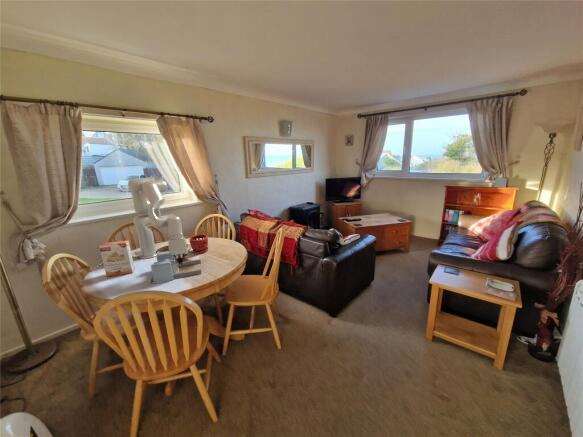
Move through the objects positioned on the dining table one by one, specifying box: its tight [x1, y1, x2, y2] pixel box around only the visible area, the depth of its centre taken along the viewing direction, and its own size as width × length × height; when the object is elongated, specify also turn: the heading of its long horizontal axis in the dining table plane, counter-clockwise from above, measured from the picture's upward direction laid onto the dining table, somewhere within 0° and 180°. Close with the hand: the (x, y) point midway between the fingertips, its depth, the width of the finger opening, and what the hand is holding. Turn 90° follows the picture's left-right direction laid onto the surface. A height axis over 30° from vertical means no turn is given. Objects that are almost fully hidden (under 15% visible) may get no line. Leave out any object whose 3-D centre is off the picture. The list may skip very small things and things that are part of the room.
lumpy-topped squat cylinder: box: [164, 259, 180, 274], centre depth 146 cm, size 10×13×9 cm
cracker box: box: [98, 240, 135, 278], centre depth 147 cm, size 14×6×21 cm, turn 110°
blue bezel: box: [150, 250, 176, 284], centre depth 146 cm, size 10×21×12 cm, turn 22°
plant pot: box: [189, 234, 209, 254], centre depth 180 cm, size 13×13×12 cm
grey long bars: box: [149, 258, 202, 284], centre depth 150 cm, size 28×17×2 cm, turn 112°
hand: (180, 263), depth 149 cm, fingers closed
